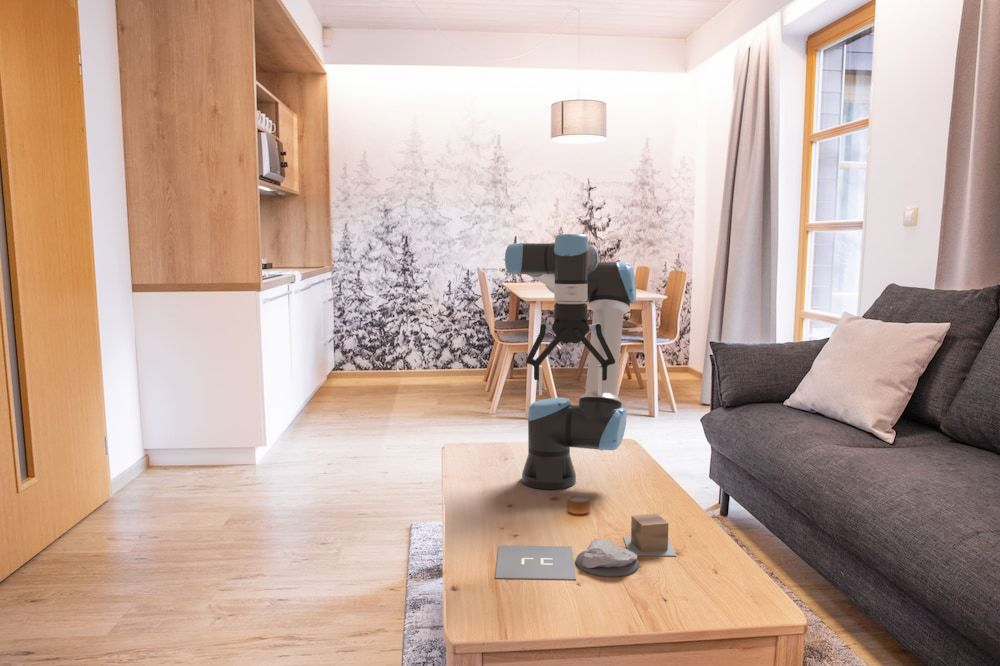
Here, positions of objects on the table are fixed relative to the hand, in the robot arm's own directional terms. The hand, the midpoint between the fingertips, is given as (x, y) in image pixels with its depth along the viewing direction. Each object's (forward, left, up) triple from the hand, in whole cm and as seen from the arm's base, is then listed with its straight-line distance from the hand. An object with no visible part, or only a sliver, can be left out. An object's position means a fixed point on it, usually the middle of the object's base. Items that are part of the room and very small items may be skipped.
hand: (570, 394), depth 170 cm
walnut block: (+11, +17, -31) cm, 37 cm away
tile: (+11, +17, -32) cm, 38 cm away
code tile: (+20, -8, -32) cm, 38 cm away
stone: (+20, +8, -31) cm, 38 cm away
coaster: (+20, +7, -32) cm, 38 cm away
